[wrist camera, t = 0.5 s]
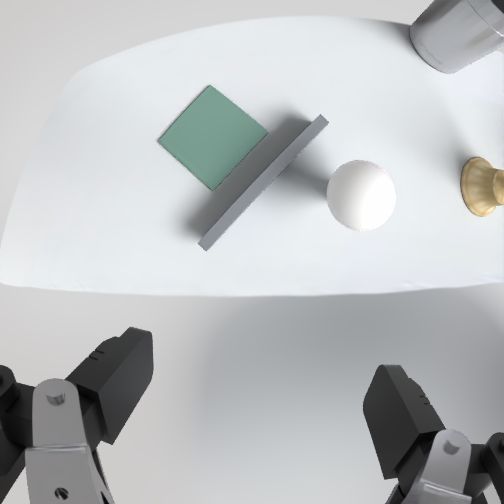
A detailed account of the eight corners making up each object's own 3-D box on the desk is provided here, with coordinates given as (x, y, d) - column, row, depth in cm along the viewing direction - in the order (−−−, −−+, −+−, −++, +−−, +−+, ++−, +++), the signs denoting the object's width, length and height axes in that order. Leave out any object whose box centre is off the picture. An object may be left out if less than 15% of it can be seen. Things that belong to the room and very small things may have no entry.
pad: (211, 86, 29) (210, 84, 29) (268, 132, 30) (268, 132, 30) (159, 142, 31) (158, 141, 30) (213, 191, 32) (212, 191, 31)
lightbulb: (301, 192, 31) (318, 191, 20) (340, 156, 30) (374, 141, 19) (337, 232, 32) (369, 252, 21) (374, 197, 31) (420, 201, 20)
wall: (314, 123, 29) (320, 114, 25) (322, 130, 30) (329, 122, 26) (205, 237, 33) (197, 243, 29) (213, 244, 33) (206, 251, 29)
